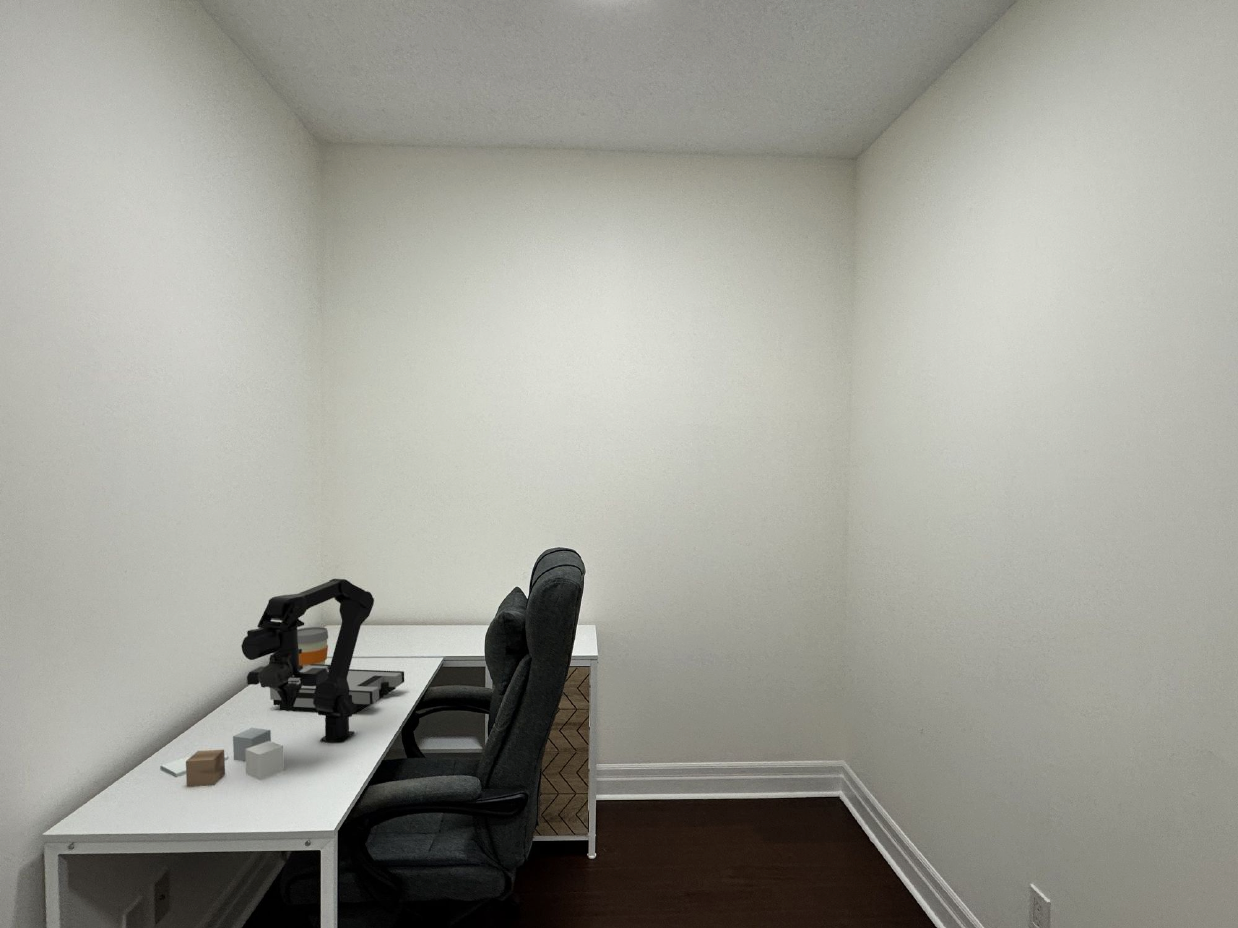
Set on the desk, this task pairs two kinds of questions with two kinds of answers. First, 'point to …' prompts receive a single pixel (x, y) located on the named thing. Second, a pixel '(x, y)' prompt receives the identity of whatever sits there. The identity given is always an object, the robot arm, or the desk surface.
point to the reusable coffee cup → (312, 645)
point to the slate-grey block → (249, 741)
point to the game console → (361, 684)
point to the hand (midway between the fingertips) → (289, 710)
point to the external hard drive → (179, 766)
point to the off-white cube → (264, 759)
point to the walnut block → (205, 768)
